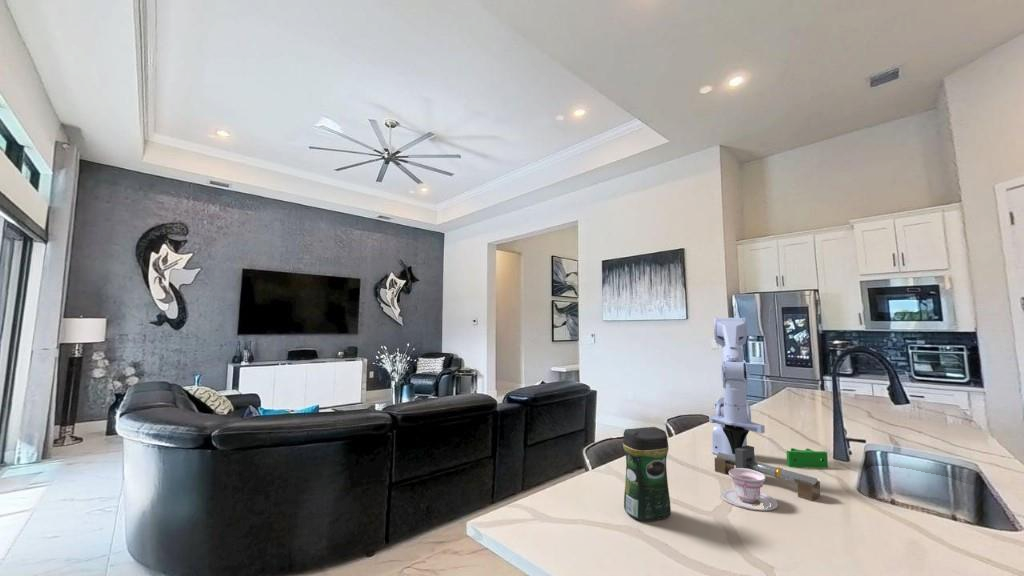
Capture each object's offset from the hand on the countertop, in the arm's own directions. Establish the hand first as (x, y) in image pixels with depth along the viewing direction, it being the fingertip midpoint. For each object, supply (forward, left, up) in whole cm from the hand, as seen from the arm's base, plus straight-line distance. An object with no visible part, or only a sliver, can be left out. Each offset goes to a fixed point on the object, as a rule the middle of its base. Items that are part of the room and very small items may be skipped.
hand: (736, 453), depth 118 cm
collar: (+2, 0, -6) cm, 6 cm away
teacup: (+10, -15, -6) cm, 19 cm away
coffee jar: (+1, -41, -6) cm, 41 cm away
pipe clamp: (+7, +25, -6) cm, 27 cm away
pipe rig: (+7, 0, -6) cm, 9 cm away
